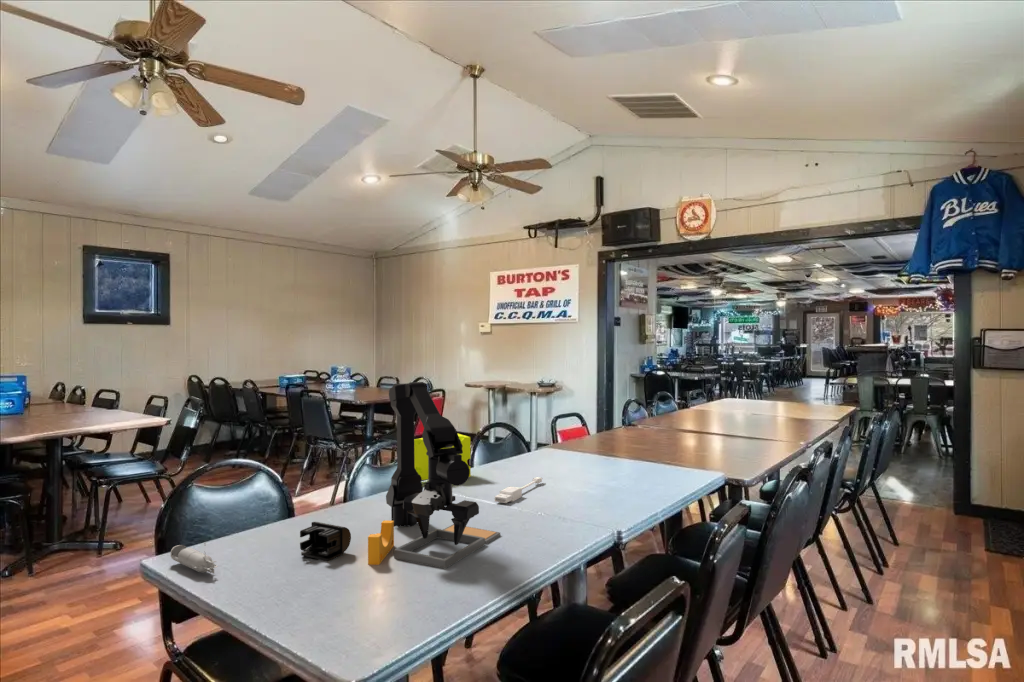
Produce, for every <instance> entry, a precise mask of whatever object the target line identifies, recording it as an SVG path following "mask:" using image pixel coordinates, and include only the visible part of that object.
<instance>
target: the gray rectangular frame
mask: <svg viewBox="0 0 1024 682" xmlns="http://www.w3.org/2000/svg"><path fill="white" fill-rule="evenodd" d="M437 539H441V540H445V541H446V540H447V541H452V542H454V532H451V531H446V530H443V529H441V528H440V529H439V528H436V529H433V530H432V531H430V532H429V531H428V536H427V538H426V539H424V538H423V536H422V535H421V536H418V537H417V538H415V539H413V540H410V541H408V542H407V543H405V544H402V545H400V546H398V547H396V548H395V549H394V550H393V558H394V559H396V560H401V561H405V562H410V563H415V564H420V565H426V566H430V567H434V568H435V567H436V568H439V569H445V570H446V569H447V568H448V567H451V566H452V565H454V564H455V563H457V562H459V561H461V560H462V559H464V558H466V557H467V556H469V555H471V554H472V553H474V552H475V551H477V550H479V549H480V548H482V547H484V546H485V545H486V544H485V538H483V537H478V536H473V535H467V534H462V536H461V539H460V541H459V543H463V544H468V545H466V546H464V547H463V548H461V549H460V550H457V551H455V552H454V553H452V554H451V555H449V556H447V557H446V558H441V557H438V556H437V557H436V556H432V555H428V554H423V553H422V554H421V553H419V552H415V551H414V550H417V549H418V548H421V547H422V546H425V545H426V544H429V543H430V542H432V541H435V540H437Z"/></svg>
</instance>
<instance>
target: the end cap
mask: <svg viewBox="0 0 1024 682" xmlns="http://www.w3.org/2000/svg"><path fill="white" fill-rule="evenodd" d="M306 536H309V537H308V539H305V540H303V541H301V542H299V549H300V550H301V552H300V553H301V554H300V555H301V556H302V557H307V558H311V559H315V560H321V561H323V562H324V561H325V562H331V561H333V560H335V559H337V558H339V557H341V556H342V555H344V553H345V552H346V551H347V550H348V548H349V547H350V543H351V541H352V534H351V530H350V529H349V528H347V527H345V526H342V525H341V526H340V525H336V524H335V525H334V524H330V523H325V522H319V521H312V522H311V526H308V527H305V528H304V529H303V528H302V529H301V530H300V532H299V538H303V537H306Z"/></svg>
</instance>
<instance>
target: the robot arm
mask: <svg viewBox="0 0 1024 682" xmlns="http://www.w3.org/2000/svg"><path fill="white" fill-rule="evenodd" d="M388 398H389V400H390V407H391V408H392V410H393V411H394V413H395V414H396V456H397V457H396V459H397V460H396V462H397V463H396V469H395V471H394V472H393V474H392V475H391V478H390V479H391V481H390V482H391V483H390V485H389V487H388V490H387V492H386V495H385V500H386V504H387V505H388V506H390V508H391V509H390V510H391V513H390V514H391V520H390V521H394V528H395V527H413V526H414V525H415V526H416V525H418V528H419V530H420V533H421V536H423V538H424V539H426V538H427V536H428V533H429V530H430V518H431V516H432V515H433V514H434V512H435V511H436V512H437V511H438V512H439V511H440V510H441V511H447V512H451V515H452V518H451V519H450V520H451V522H452V524H454V541H453V542H454V545H455V546H457V545H459V544H460V542H459V541H460V539H461V536H462V534H463V532H464V529H465V527H466V526H468V523H469V521H470V519H472V518H474V517H475V516H478V515H479V513H480V506H479V504H478V503H477V501H471V500H465V499H464V500H462V501H460V502H457V503H453V502H455V501H456V496H455V495H453V486H456V487H457V486H458V487H459V486H461V485H462V486H463V485H464V484H465V483H466V482H467V480H468V479H469V478H470V477H469V474H470V469H469V467H468V466H469V464H468V462H467V463H465V462H464V461H462V456H461V455H460V454H462V453H463V451H462V447H463V446H462V443H461V441H460V439H459V436H458V434H459V433H458V431H457V429H456V428H455V426H454V425H453V423H452V421H451V420H449V418H446V417H444V416H443V415H441V412H440V411H439V409H438V408H437V406H436V404H435V402H434V400H433V398H432V396H431V394H430V393H429V391H428V385H427V383H426V382H424V381H413V382H407V383H405V382H404V383H394V384H393V385H392V387H390V388H389V390H388ZM416 414H417V415H418V418H419V420H420V421H421V423H422V426H423V431H422V435H421V436H422V438H423V442H424V445H425V447H426V449H427V453H426V455H428V480H427V481H424V486H423V483H422V480H421V476H420V475H419V474H418V473H417V471H416V469H415V456H414V439H415V415H416ZM457 433H458V434H457ZM452 446H454V447H453V448H449V447H452ZM441 448H444V449H441ZM467 464H468V465H467ZM423 488H424V489H423Z"/></svg>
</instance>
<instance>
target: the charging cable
mask: <svg viewBox="0 0 1024 682" xmlns="http://www.w3.org/2000/svg"><path fill="white" fill-rule="evenodd" d="M542 482H543V477H540V476H539V477H538V476H536V477H533V478H532V481H531V482H529V483H527V484H525V485H523V486H522V487H517V486H507V487H506V488H504V489H502V490H500V491H499V494H497V495H494V502H497V503H504V504H507V503H510V502H511V503H514V502H515V501H516V500H517V501H518V500H519V499H520V498H522V497H523V495H522V494H523V493H522V492H523V491H522V490H524V489H527V488H528V487H530V486H532V485H533V484H541V483H542Z"/></svg>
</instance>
